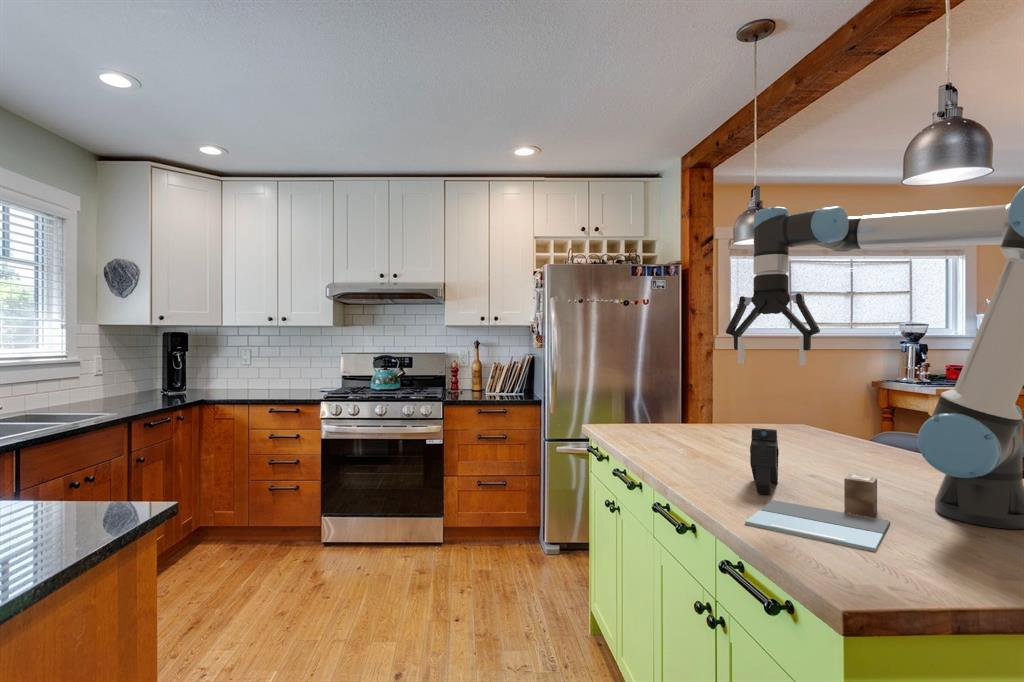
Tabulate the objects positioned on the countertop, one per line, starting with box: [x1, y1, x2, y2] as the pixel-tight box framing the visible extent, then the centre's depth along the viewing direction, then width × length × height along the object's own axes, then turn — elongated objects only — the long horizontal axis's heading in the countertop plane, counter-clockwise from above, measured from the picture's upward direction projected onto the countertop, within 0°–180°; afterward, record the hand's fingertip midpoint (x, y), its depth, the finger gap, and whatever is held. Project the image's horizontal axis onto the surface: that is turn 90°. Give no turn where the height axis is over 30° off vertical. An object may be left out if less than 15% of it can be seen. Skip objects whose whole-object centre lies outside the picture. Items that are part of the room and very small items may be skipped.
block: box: [843, 473, 878, 518], centre depth 112 cm, size 5×5×7 cm
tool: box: [749, 427, 780, 495], centre depth 132 cm, size 6×19×15 cm, turn 152°
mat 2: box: [744, 509, 884, 553], centre depth 101 cm, size 21×9×1 cm, turn 49°
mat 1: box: [760, 499, 891, 537], centre depth 108 cm, size 21×9×1 cm, turn 49°
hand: (770, 364), depth 129 cm, fingers open, 13 cm apart
